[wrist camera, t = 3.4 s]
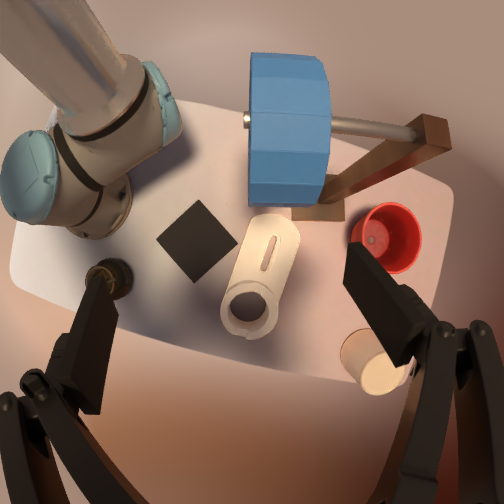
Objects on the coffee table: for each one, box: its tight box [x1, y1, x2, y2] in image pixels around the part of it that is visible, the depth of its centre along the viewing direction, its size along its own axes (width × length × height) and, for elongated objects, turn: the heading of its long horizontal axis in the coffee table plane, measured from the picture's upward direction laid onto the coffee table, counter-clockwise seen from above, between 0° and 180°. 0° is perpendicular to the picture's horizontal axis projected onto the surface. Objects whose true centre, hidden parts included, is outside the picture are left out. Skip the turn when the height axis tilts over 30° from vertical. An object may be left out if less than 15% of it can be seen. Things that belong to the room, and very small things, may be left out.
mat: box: [156, 200, 238, 283], centre depth 52 cm, size 10×10×1 cm
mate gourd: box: [85, 258, 132, 301], centre depth 47 cm, size 7×8×10 cm
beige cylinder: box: [341, 329, 405, 395], centre depth 48 cm, size 11×9×10 cm
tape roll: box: [248, 52, 332, 208], centre depth 21 cm, size 4×11×11 cm, turn 0°
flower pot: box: [351, 202, 422, 274], centre depth 48 cm, size 11×11×10 cm
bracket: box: [220, 213, 301, 340], centre depth 49 cm, size 20×9×7 cm, turn 161°
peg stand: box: [244, 111, 452, 222], centre depth 35 cm, size 17×8×35 cm, turn 90°
